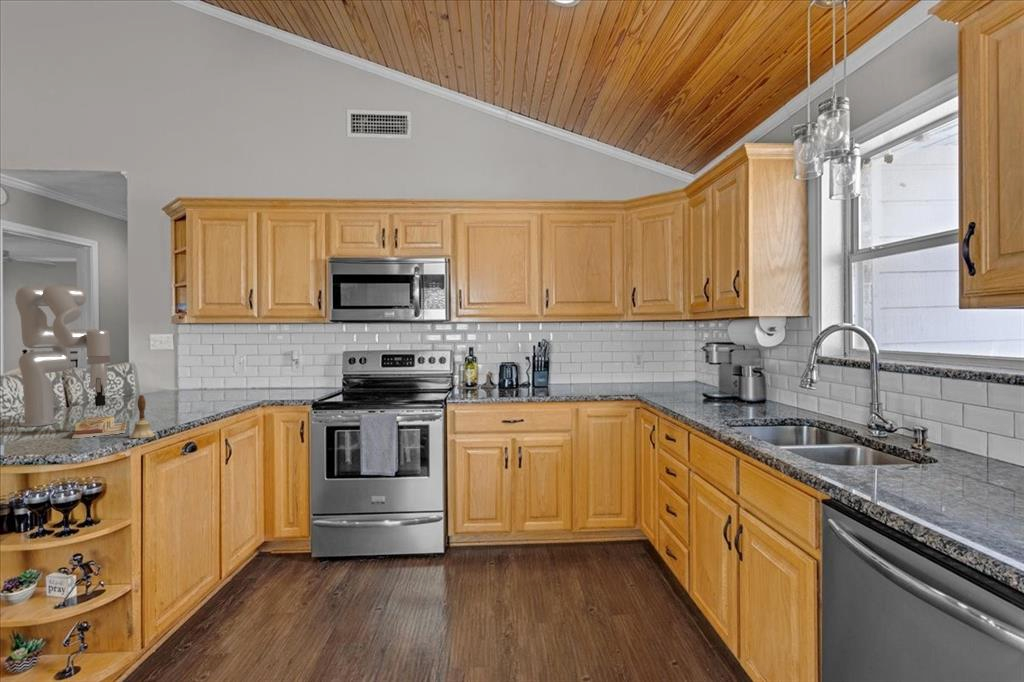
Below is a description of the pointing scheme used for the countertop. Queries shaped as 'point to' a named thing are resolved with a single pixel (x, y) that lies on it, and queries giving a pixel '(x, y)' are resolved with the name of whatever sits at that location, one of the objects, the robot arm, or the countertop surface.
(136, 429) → the hand bell
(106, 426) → the candy box
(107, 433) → the board
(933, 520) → the countertop surface
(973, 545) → the countertop surface
